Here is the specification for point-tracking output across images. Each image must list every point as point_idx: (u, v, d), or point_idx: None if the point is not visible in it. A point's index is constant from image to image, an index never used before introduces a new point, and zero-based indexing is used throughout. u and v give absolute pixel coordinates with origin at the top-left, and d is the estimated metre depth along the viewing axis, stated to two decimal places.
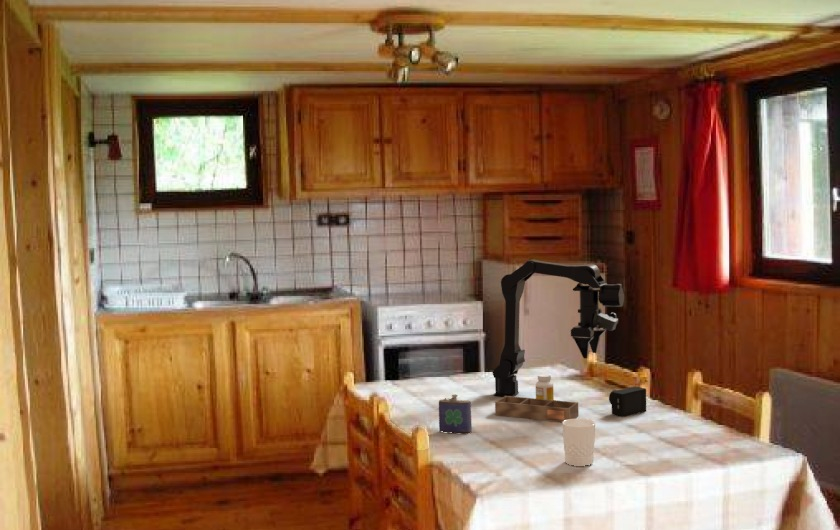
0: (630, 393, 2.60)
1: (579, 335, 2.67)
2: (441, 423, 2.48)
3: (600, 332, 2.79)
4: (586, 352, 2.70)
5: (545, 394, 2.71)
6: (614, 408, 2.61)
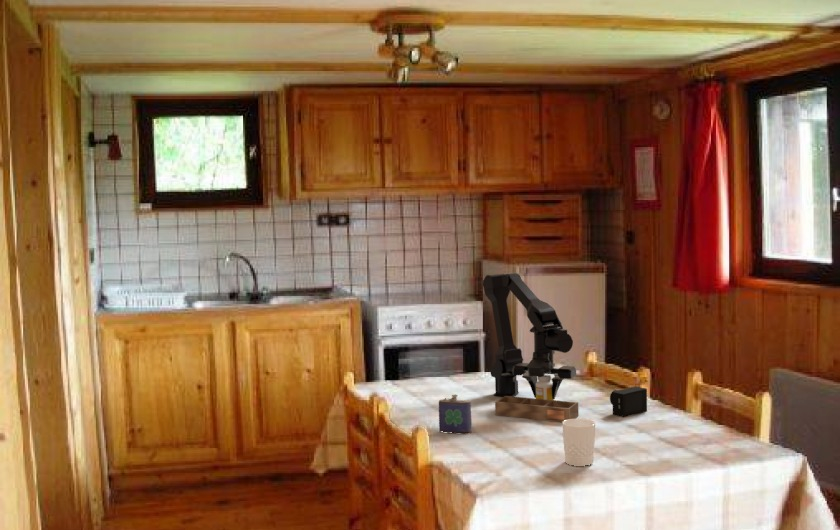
0: (631, 393, 2.60)
1: None
2: (441, 423, 2.48)
3: None
4: None
5: (545, 394, 2.71)
6: (615, 408, 2.60)
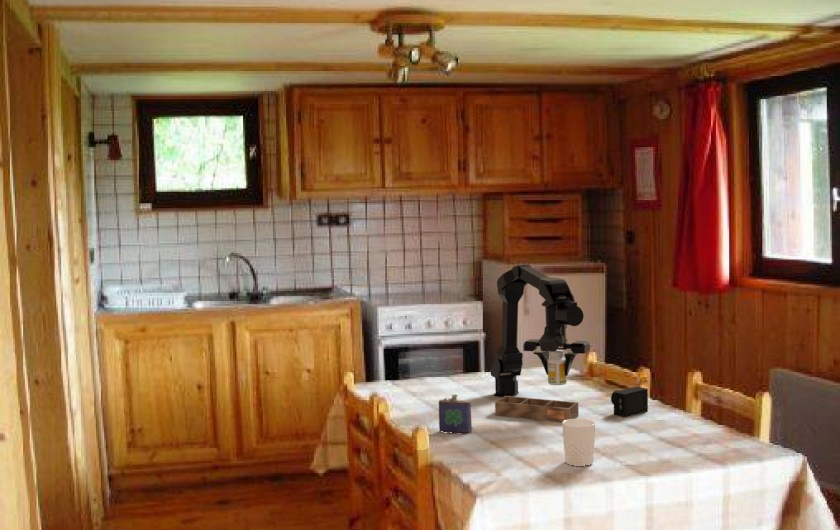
0: (632, 393, 2.60)
1: None
2: (441, 423, 2.48)
3: None
4: None
5: (557, 370, 2.59)
6: (616, 408, 2.60)
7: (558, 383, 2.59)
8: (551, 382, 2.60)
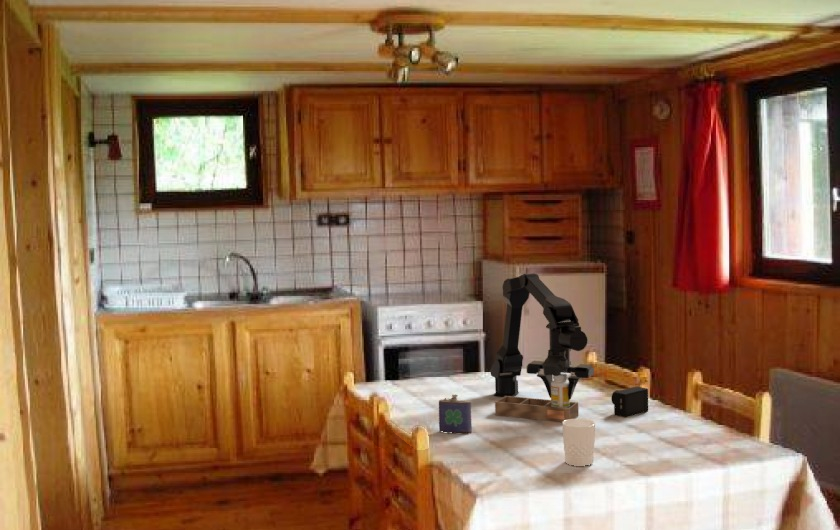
0: (633, 393, 2.59)
1: None
2: (441, 423, 2.48)
3: None
4: None
5: (560, 394, 2.56)
6: (617, 408, 2.60)
7: (562, 407, 2.57)
8: (554, 405, 2.58)
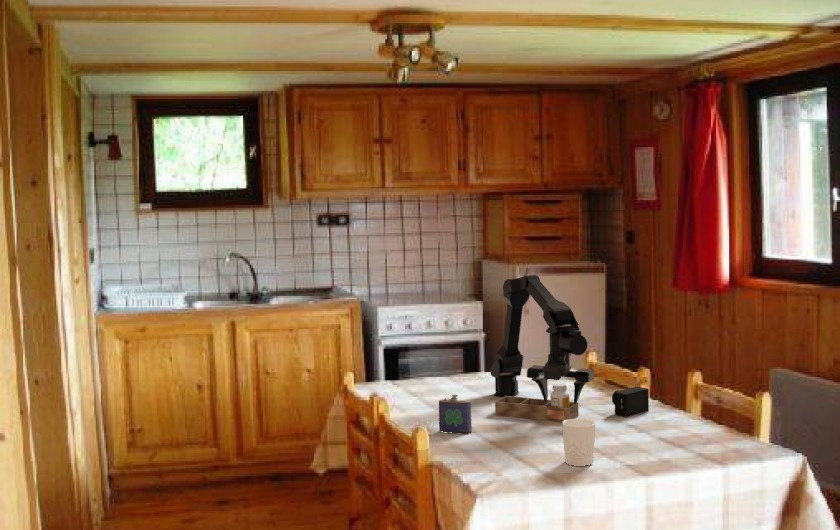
0: (633, 393, 2.59)
1: None
2: (441, 423, 2.48)
3: None
4: None
5: (560, 405, 2.57)
6: (617, 408, 2.60)
7: None
8: None
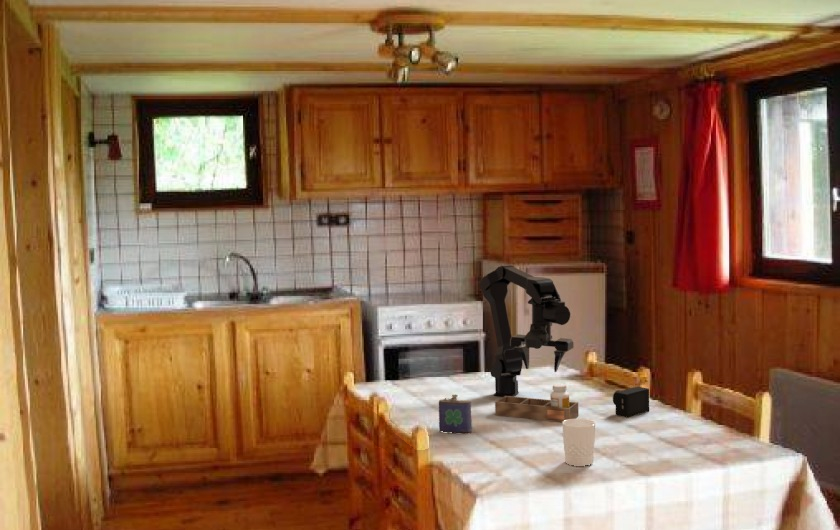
0: (634, 393, 2.59)
1: None
2: (441, 423, 2.48)
3: None
4: None
5: (560, 405, 2.57)
6: (618, 408, 2.60)
7: None
8: None
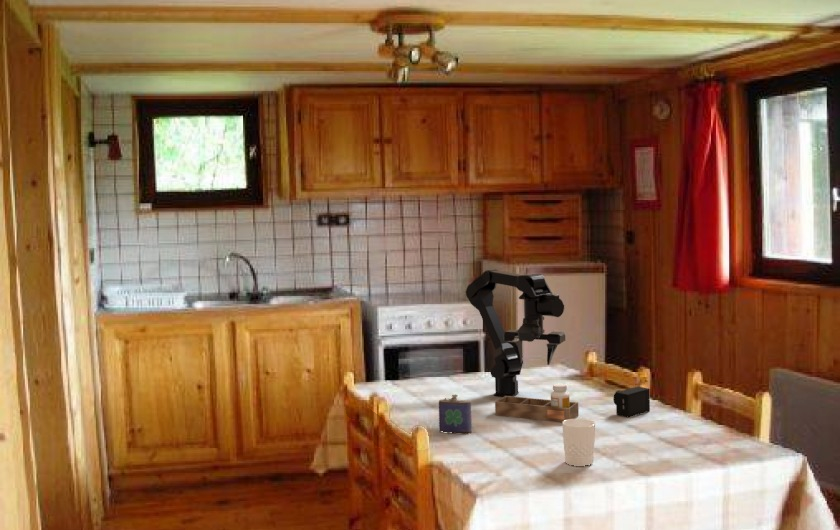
0: (635, 393, 2.59)
1: None
2: (441, 423, 2.48)
3: None
4: None
5: (560, 405, 2.57)
6: (619, 409, 2.60)
7: None
8: None
